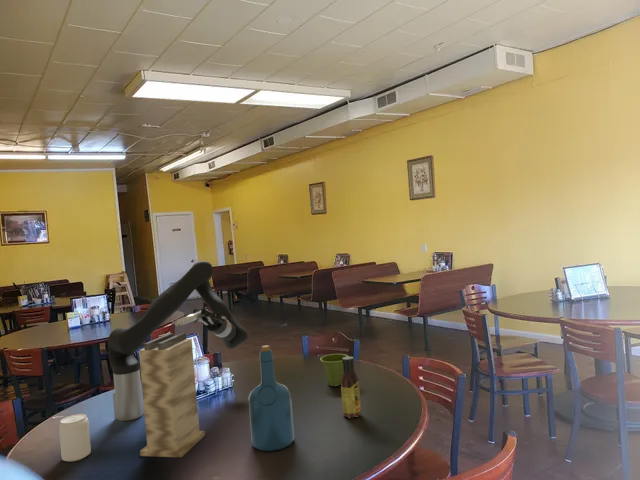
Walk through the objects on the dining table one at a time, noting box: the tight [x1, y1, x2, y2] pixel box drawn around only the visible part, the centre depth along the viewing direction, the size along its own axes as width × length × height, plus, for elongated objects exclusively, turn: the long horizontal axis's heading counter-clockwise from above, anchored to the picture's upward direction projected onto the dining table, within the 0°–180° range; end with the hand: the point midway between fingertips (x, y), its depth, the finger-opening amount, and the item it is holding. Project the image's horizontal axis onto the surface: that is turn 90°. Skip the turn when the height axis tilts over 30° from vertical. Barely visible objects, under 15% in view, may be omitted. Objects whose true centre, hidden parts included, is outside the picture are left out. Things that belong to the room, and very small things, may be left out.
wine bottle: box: [247, 344, 295, 452], centre depth 144 cm, size 14×13×30 cm
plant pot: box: [319, 353, 350, 386], centre depth 195 cm, size 12×12×11 cm
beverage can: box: [58, 413, 92, 463], centre depth 146 cm, size 8×8×12 cm
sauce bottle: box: [340, 356, 362, 418], centre depth 161 cm, size 6×6×20 cm
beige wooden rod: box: [173, 308, 209, 328], centre depth 166 cm, size 20×2×2 cm, turn 166°
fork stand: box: [138, 332, 206, 458], centre depth 148 cm, size 14×15×34 cm
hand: (198, 310), depth 170 cm, fingers closed on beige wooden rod, 2 cm apart
